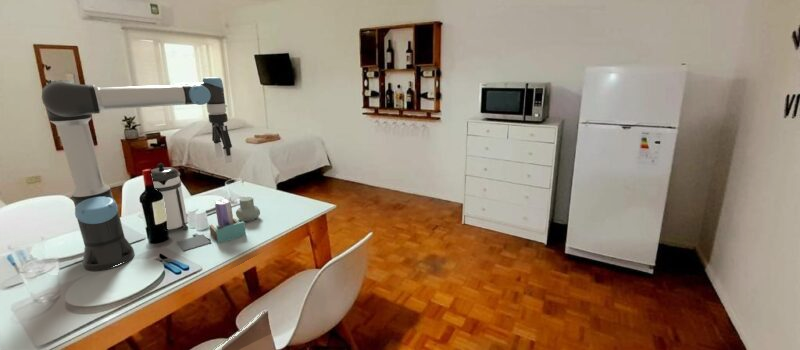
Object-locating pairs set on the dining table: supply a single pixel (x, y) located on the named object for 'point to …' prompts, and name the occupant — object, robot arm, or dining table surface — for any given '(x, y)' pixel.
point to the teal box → (230, 231)
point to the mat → (193, 242)
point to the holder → (213, 229)
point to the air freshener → (247, 209)
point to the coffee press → (171, 195)
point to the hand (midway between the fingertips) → (224, 159)
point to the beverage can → (224, 212)
